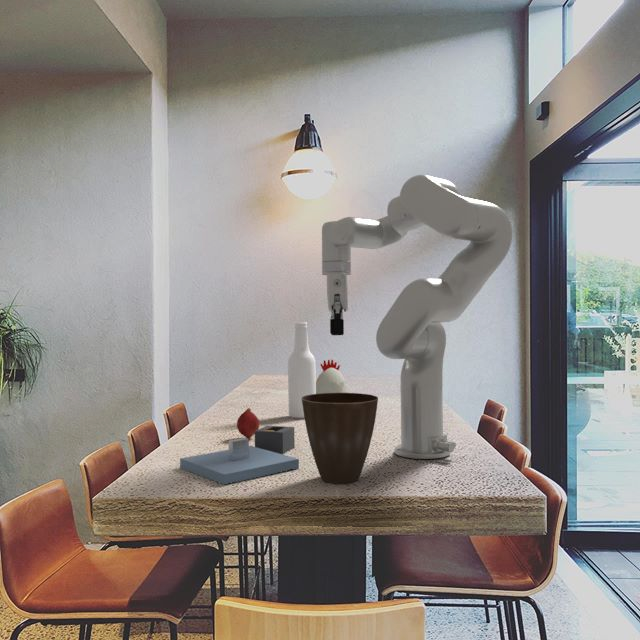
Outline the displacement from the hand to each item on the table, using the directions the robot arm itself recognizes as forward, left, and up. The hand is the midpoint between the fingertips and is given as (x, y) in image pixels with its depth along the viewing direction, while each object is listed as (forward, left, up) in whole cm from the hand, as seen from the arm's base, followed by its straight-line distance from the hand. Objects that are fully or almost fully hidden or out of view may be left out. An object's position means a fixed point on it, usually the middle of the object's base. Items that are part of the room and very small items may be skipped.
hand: (336, 334), depth 159 cm
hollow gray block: (-1, +21, -27) cm, 34 cm away
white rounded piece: (+59, -50, -27) cm, 82 cm away
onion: (+15, +18, -27) cm, 36 cm away
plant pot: (-31, +27, -27) cm, 49 cm away
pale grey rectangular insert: (-10, +37, -25) cm, 46 cm away
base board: (-10, +37, -27) cm, 47 cm away
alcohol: (+32, -14, -27) cm, 45 cm away
